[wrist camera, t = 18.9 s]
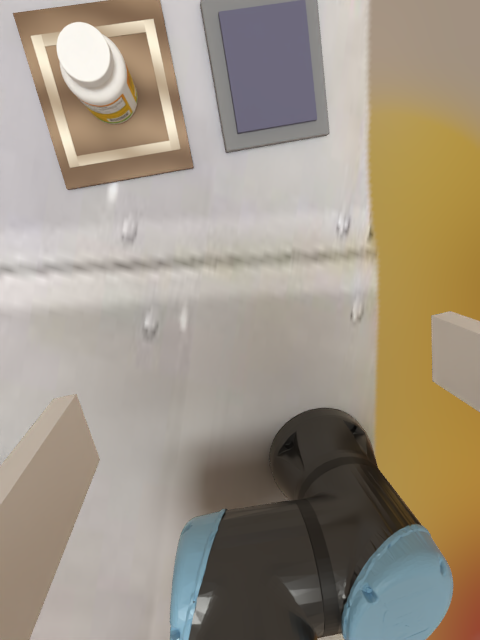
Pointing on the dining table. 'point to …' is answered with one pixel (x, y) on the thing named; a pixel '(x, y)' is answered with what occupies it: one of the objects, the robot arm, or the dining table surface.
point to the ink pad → (266, 70)
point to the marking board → (80, 124)
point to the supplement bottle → (96, 73)
